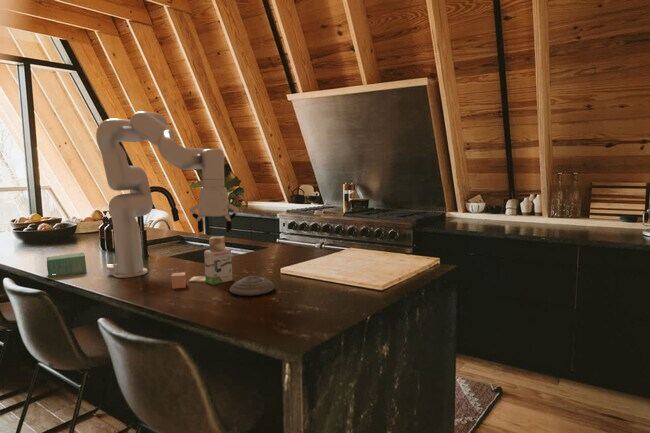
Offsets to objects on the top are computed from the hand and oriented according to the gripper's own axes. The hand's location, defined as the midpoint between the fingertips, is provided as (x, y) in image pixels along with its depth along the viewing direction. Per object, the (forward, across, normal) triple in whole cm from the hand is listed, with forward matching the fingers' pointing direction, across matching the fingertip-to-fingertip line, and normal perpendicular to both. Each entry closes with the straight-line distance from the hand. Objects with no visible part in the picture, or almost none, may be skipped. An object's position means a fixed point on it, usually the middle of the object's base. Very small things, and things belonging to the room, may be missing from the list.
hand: (214, 231), depth 168 cm
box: (+21, -64, +18) cm, 69 cm away
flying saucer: (+18, +15, -14) cm, 28 cm away
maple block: (+6, +1, 0) cm, 7 cm away
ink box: (+18, +1, 0) cm, 19 cm away
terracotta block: (+19, -12, -5) cm, 23 cm away
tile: (+18, -7, +3) cm, 20 cm away
